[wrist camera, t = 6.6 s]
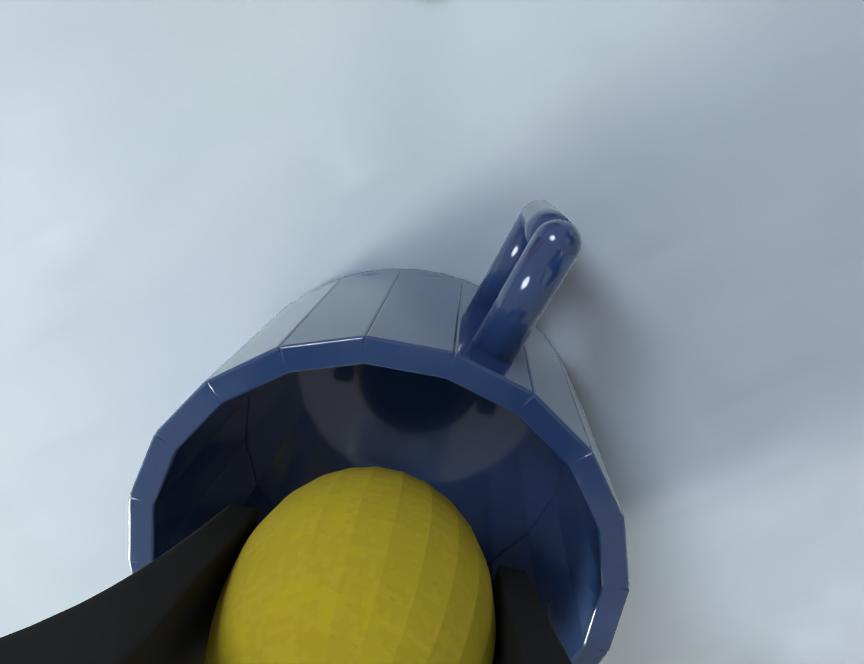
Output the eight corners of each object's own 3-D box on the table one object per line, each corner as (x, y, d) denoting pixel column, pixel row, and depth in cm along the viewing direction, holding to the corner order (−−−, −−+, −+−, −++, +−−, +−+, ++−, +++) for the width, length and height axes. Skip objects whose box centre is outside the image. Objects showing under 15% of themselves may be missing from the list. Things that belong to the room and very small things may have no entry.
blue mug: (473, 626, 22) (472, 819, 16) (188, 491, 21) (69, 641, 15) (711, 288, 18) (838, 373, 11) (364, 98, 17) (297, 79, 10)
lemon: (269, 414, 16) (72, 682, 8) (486, 406, 15) (495, 685, 7) (299, 590, 17) (160, 949, 10) (495, 589, 17) (510, 966, 9)
